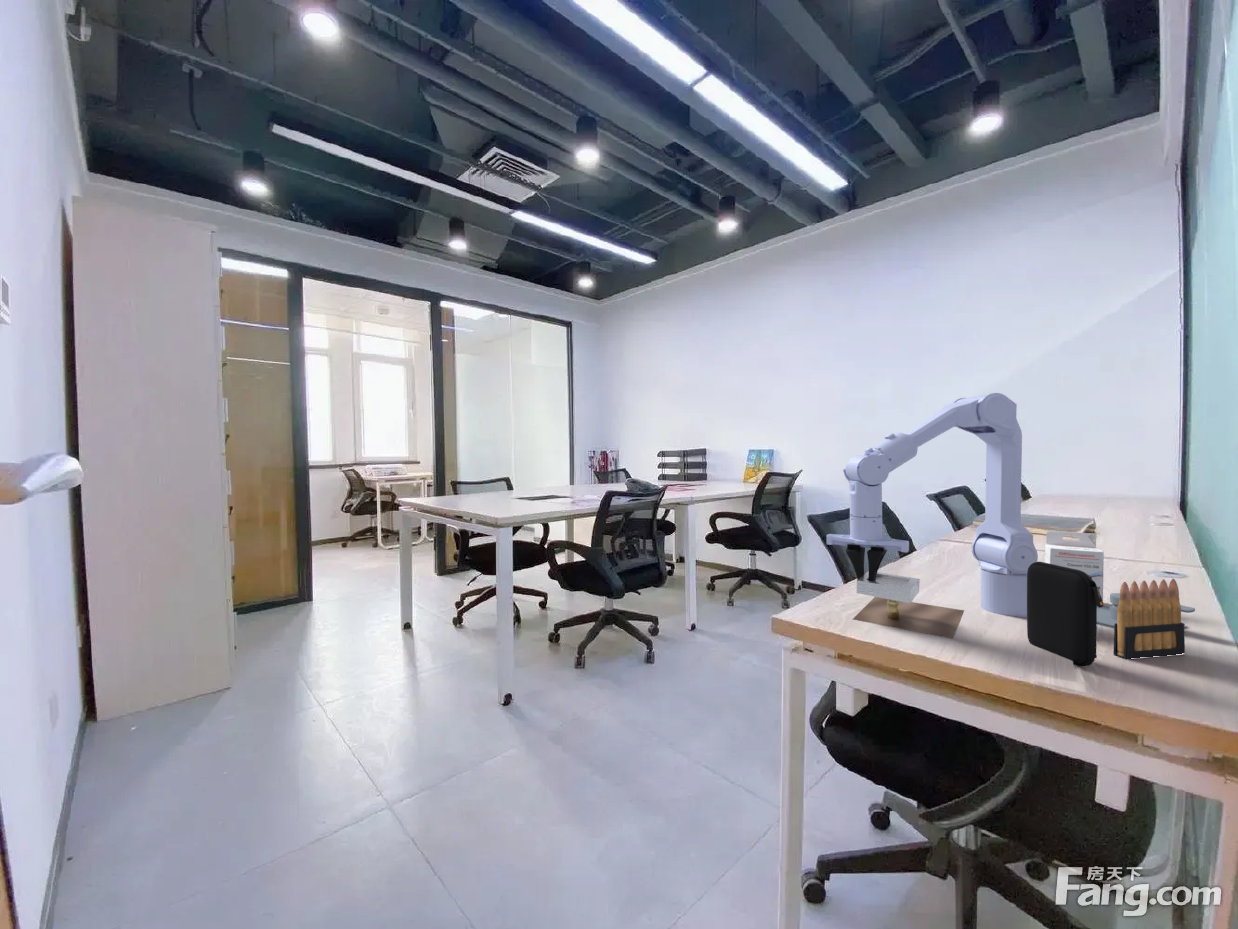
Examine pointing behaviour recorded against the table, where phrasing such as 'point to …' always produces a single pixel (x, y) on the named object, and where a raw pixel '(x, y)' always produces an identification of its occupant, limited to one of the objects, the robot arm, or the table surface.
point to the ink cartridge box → (1076, 554)
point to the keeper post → (893, 609)
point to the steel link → (889, 587)
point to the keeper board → (913, 617)
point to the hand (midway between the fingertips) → (866, 584)
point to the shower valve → (1109, 614)
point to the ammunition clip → (1149, 621)
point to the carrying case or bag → (1063, 611)
